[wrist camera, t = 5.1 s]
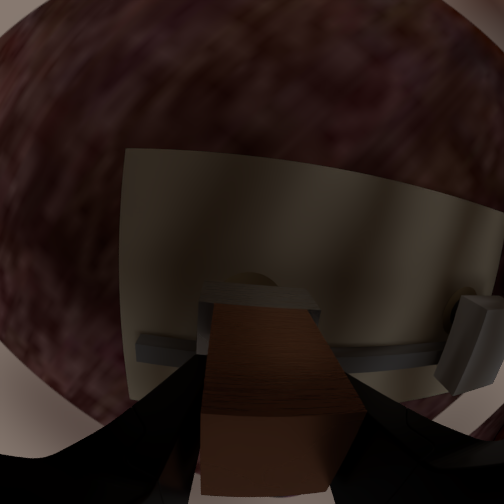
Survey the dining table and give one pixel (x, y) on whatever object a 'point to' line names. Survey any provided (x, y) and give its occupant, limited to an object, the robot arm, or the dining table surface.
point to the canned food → (500, 435)
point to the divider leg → (270, 394)
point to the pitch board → (311, 266)
